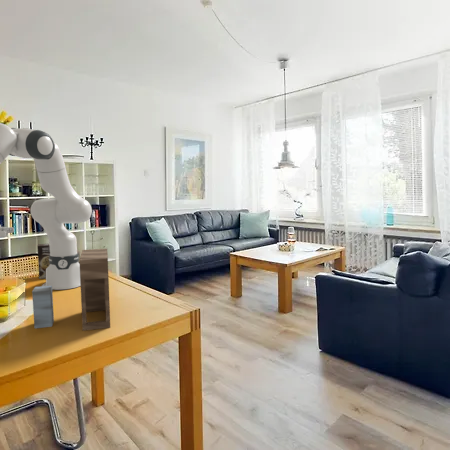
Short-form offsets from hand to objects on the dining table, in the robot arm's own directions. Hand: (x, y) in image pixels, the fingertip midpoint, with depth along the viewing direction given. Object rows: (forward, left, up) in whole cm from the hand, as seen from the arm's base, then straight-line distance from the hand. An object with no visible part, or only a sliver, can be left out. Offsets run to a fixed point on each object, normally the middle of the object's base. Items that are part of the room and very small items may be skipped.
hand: (9, 231), depth 116 cm
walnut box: (+5, +25, -30) cm, 39 cm away
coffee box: (-62, +2, -30) cm, 69 cm away
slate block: (+5, +9, -30) cm, 32 cm away
